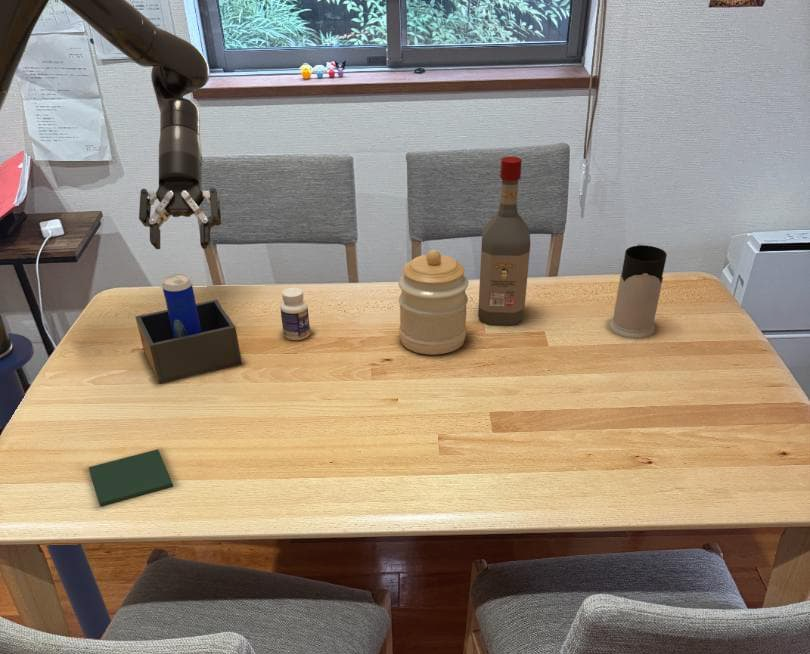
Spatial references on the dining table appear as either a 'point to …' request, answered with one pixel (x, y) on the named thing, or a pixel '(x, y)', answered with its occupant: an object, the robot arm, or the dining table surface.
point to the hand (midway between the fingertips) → (180, 247)
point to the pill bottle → (294, 314)
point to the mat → (130, 477)
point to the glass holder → (638, 291)
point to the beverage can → (181, 305)
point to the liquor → (505, 255)
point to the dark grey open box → (189, 343)
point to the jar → (433, 304)
